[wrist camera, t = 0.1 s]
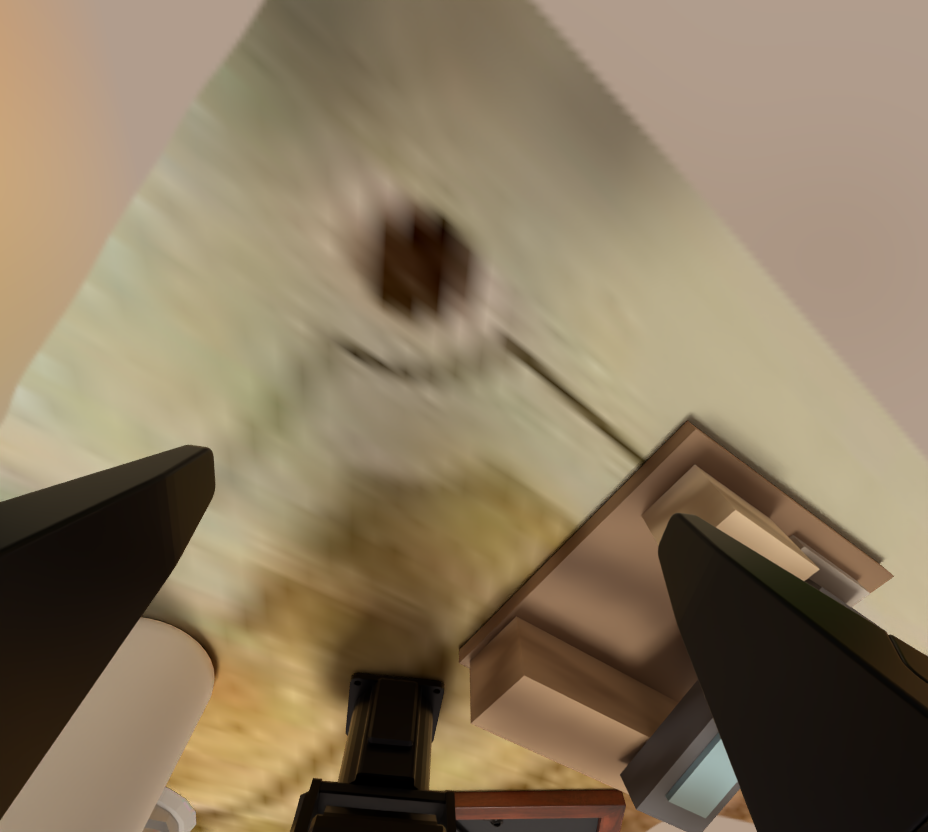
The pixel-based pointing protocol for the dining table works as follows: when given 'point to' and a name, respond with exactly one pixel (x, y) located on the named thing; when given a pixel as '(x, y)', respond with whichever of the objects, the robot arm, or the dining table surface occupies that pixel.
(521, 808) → the picture frame
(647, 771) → the picture frame
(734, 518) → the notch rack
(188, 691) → the wine bottle
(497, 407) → the dining table surface
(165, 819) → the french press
